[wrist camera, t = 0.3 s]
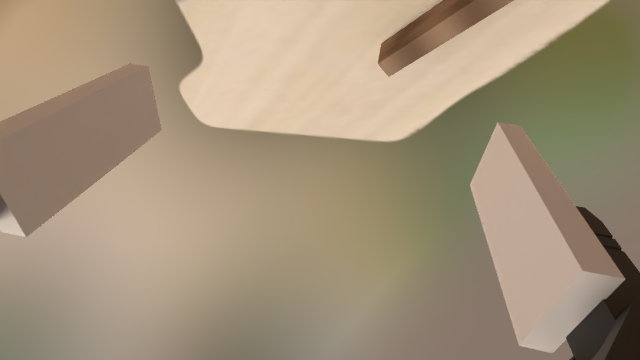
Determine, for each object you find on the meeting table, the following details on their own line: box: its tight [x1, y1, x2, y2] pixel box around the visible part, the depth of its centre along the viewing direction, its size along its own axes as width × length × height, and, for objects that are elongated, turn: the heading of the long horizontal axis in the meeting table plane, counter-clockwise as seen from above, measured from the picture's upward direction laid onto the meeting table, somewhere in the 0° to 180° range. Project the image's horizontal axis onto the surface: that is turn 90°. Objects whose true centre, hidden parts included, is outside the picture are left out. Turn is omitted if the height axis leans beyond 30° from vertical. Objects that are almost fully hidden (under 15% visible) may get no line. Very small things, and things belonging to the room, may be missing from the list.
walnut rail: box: [378, 0, 514, 76], centre depth 31 cm, size 20×2×4 cm, turn 134°
